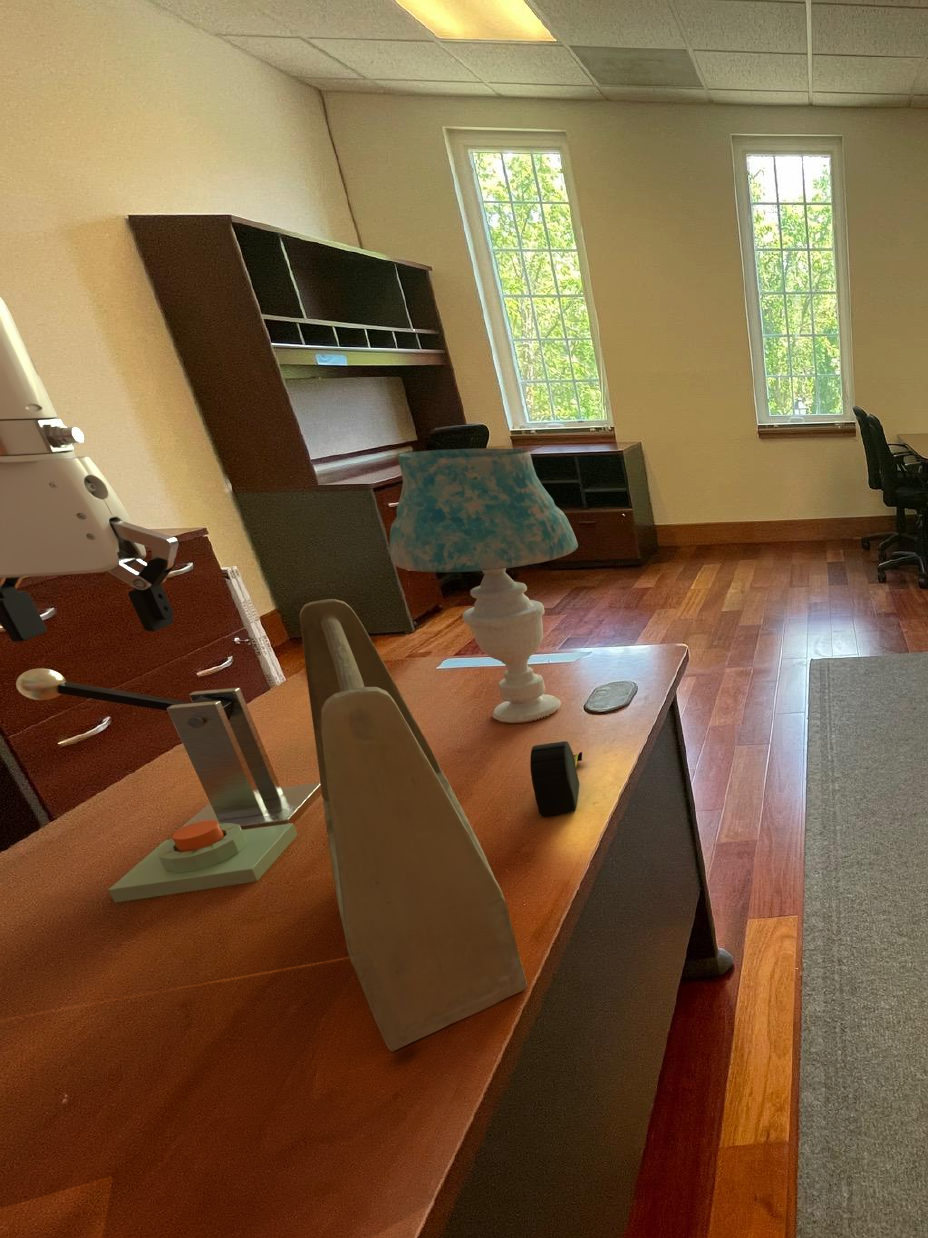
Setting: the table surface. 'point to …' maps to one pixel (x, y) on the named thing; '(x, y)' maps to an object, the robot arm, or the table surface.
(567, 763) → the tape measure
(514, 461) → the table lamp
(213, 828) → the button
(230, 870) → the button box
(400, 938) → the caddy
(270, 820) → the bracket
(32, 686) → the lever
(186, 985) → the table surface
